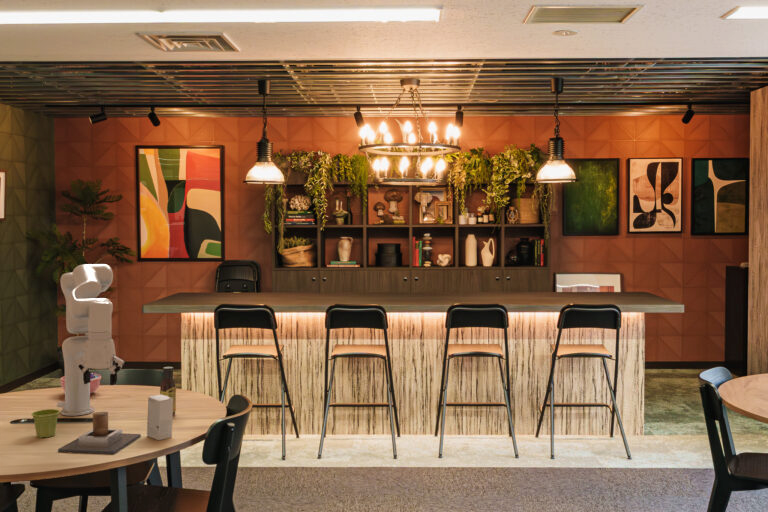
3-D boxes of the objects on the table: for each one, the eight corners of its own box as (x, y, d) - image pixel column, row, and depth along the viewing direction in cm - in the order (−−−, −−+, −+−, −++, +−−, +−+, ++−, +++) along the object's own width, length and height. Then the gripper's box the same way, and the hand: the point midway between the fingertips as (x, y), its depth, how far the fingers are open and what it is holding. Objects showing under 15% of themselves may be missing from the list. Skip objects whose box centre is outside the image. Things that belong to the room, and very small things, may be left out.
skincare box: (146, 436, 251) (146, 396, 251) (161, 432, 256) (161, 393, 256) (159, 441, 246) (158, 400, 246) (173, 437, 251) (173, 397, 250)
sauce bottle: (170, 418, 276) (170, 369, 275) (156, 417, 277) (156, 368, 276) (178, 414, 282) (178, 366, 282) (165, 413, 284) (164, 365, 283)
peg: (90, 443, 240) (90, 415, 239) (97, 438, 245) (97, 411, 244) (103, 443, 239) (103, 415, 239) (110, 439, 244) (110, 411, 244)
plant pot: (41, 441, 245) (41, 417, 244) (26, 436, 250) (26, 413, 249) (65, 434, 253) (65, 411, 252) (50, 430, 258) (50, 407, 257)
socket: (58, 452, 233) (57, 440, 233) (88, 434, 253) (88, 424, 253) (113, 454, 231) (113, 442, 231) (140, 436, 251) (140, 426, 251)
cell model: (97, 388, 327) (97, 365, 326) (103, 397, 310) (103, 372, 309) (58, 392, 318) (58, 368, 318) (63, 401, 301) (62, 376, 301)
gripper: (71, 336, 238) (71, 385, 238) (118, 338, 236) (118, 387, 237) (82, 333, 245) (82, 380, 246) (128, 335, 243) (128, 382, 244)
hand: (100, 383), depth 241 cm, fingers open, 9 cm apart
